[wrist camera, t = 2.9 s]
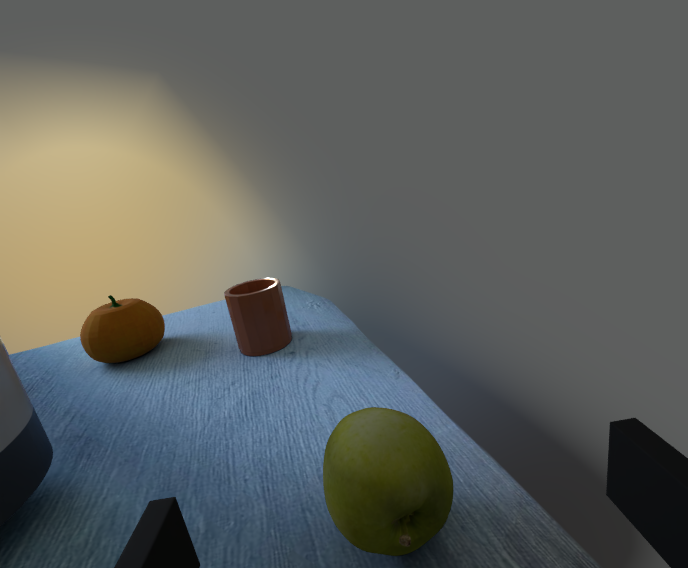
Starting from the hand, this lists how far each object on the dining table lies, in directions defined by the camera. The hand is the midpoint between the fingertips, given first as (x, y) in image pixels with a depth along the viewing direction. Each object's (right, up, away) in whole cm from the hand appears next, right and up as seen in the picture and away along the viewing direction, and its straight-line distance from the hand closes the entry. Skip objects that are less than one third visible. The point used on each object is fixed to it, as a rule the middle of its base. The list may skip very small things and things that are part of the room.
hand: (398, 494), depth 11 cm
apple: (+2, -10, +13) cm, 16 cm away
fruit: (-36, -5, +50) cm, 62 cm away
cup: (-13, -3, +44) cm, 46 cm away
